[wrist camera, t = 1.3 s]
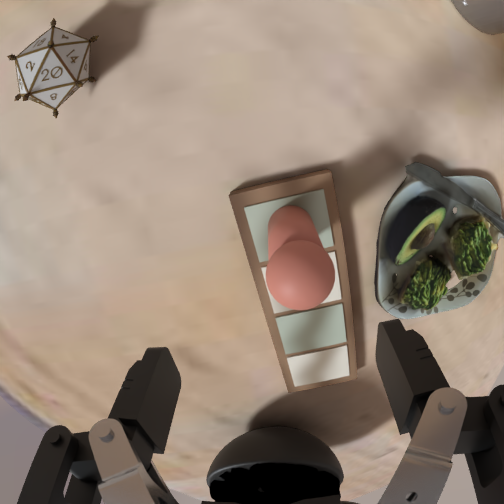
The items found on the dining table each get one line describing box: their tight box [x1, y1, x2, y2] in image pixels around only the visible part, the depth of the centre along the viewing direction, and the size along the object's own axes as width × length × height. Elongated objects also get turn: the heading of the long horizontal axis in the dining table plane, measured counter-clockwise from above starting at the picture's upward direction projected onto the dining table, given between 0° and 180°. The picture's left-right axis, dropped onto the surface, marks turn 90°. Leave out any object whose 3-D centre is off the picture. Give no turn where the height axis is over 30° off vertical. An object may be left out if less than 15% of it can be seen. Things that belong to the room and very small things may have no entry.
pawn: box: [266, 205, 335, 310], centre depth 22 cm, size 4×4×11 cm
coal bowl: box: [207, 427, 344, 504], centre depth 36 cm, size 20×20×19 cm
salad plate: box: [374, 162, 504, 319], centre depth 27 cm, size 19×18×5 cm
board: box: [229, 169, 357, 393], centre depth 32 cm, size 9×26×2 cm, turn 15°
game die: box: [7, 18, 98, 118], centre depth 19 cm, size 9×8×10 cm
